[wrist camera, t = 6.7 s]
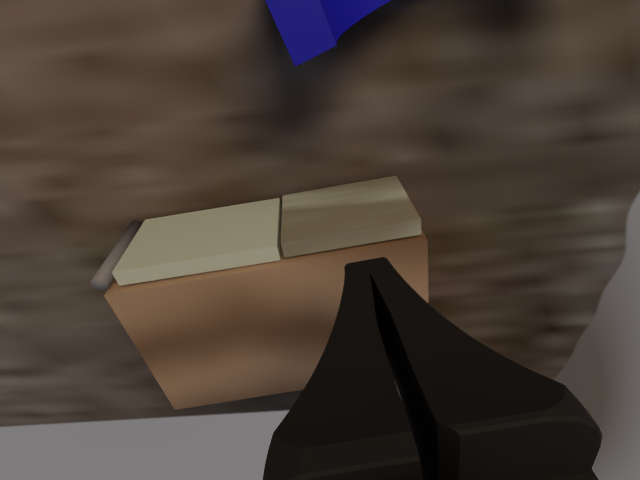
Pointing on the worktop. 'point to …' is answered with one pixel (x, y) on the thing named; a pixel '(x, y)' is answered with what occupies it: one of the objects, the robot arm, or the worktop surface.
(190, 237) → the door
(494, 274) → the worktop surface
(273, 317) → the cabinet
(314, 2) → the blue curved piece
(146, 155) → the worktop surface
